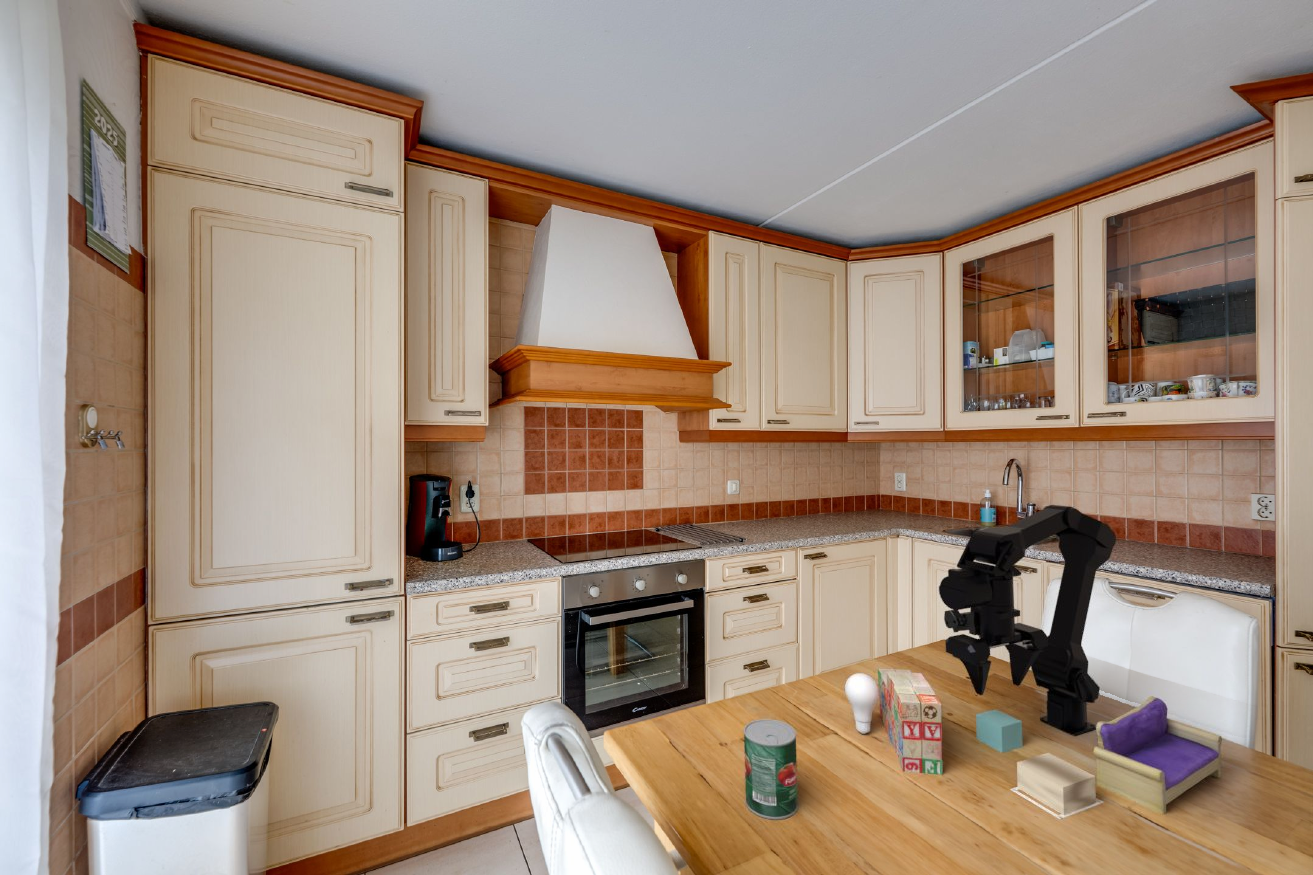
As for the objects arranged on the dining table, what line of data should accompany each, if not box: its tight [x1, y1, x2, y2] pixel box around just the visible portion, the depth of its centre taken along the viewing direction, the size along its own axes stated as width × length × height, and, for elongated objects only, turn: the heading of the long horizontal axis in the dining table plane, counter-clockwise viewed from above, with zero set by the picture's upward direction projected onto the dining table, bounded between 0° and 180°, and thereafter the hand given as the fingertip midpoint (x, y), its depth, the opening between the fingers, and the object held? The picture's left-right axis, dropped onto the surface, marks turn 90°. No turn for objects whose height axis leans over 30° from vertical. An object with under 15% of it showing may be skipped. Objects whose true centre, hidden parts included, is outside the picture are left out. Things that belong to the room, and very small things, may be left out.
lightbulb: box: [844, 672, 880, 735], centre depth 107 cm, size 6×6×11 cm
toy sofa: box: [1092, 696, 1223, 815], centre depth 90 cm, size 21×9×10 cm, turn 117°
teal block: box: [975, 708, 1024, 754], centre depth 102 cm, size 5×5×5 cm
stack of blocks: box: [877, 668, 944, 776], centre depth 103 cm, size 21×6×12 cm, turn 168°
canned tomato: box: [743, 718, 799, 821], centre depth 87 cm, size 8×8×11 cm
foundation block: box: [1016, 752, 1097, 815], centre depth 86 cm, size 7×7×4 cm
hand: (998, 689), depth 102 cm, fingers open, 9 cm apart
